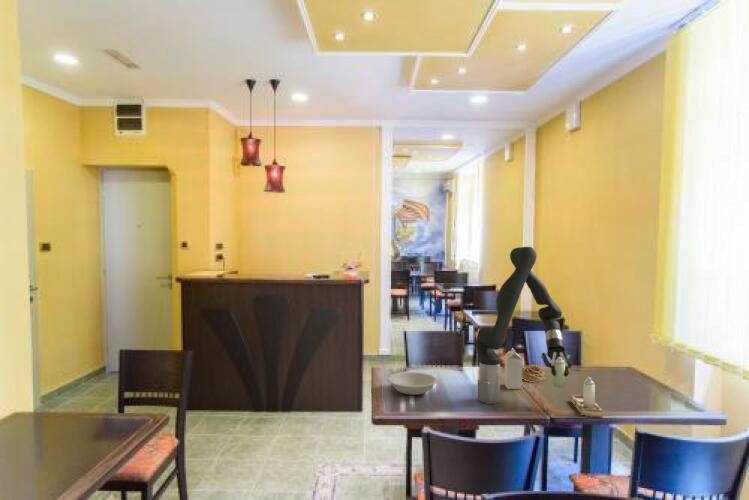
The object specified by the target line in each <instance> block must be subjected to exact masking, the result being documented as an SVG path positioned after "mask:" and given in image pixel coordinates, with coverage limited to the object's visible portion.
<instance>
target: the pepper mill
mask: <svg viewBox="0 0 749 500" xmlns="http://www.w3.org/2000/svg"><path fill="white" fill-rule="evenodd" d="M554 366H555V372H556V375H555V376H553V387H556V388H565V384H566V383H565V382H566V381H565V380H566V377H565V363H564V361H563V360H562V358H561V357H558V358H557V360H555V362H554Z"/></svg>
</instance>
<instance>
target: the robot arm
mask: <svg viewBox="0 0 749 500" xmlns="http://www.w3.org/2000/svg"><path fill="white" fill-rule="evenodd" d="M509 259H510V262H511V263H512V265H513V266H514V268H515V269H514V271H513V272H512V274H511V275H510V276H509V277H508V278H506V280H505V281H504V283H502V285H501V287H500V289H499V291H498V294H497V296H496V299H495V300H496V302H495V306H496V313H497V315H496V316H497V318H496V320H495V324H494V326H493V327H490V326H482V327H480V328H479V330H478V332H477V337H476V348H477V356H478V359H479V363H478V364H479V366H478V367H479V368H478V369H479V372H478V374H479V375H478V377H479V378H478V380H477V401H478V402H482V403H484V404H486V405H490V404H494V405H495V404H498V403H500V402H501V358H500V356H499V355H498V354H497V353H496V352H495V350H499V349H501V348H502V347H503V344H504V343H505V340H506V336H507V333H508V329H509V325H510V322H511V320H512V317H513V314H514V311H515V309H516V307H517V304H518V302H519V300H520V297H521V293H522V291H523V288H524V286H525V283H526V285H527V287H528V289H529V291H530V292H531V294H532V297H533V299H534V301H535V303H536V304H537V305H538V306H542V307H540V308H539V309H538V312H537V315H538V317H539V319H540V321H541V323H542V325H543V328H544V335H545V337H544V338H545V343H546V350H547V352H542V353H541V356H540V357H541V359H542V361H543V363H544V366H545V367H546V368H550V373H551V375H552V376H553V377H554V376H555V375H556V372H555V366H554V362H555V360H557V358H558V357H561V358H562V360H563V361H564V363H565V378H567V377H568V376H569V374H570V372H569V371H570V370H569V369H572V366H573V362H574V354H572V353H571V354H568V353H567V352H566V347H565V342H564V338H563V334H562V330H561V325H560V323H559V322H558V321H556V320H558V319H560V318H561V317H562V316H563V315H562V314H563V312H562V308H561V307H560V306H559V305H558V304H557V303H556V302H555V301H554V300H553V298H552V297H551V296H550V293H549V291H548V289H547V288H546V285H545V284H544V283H543V282H542V280H541V279H540V278H539V277H538V276H537V275H536V274H535V273H534V272H533V271H532V269H533V267H534V265H535V264H536V260H537V251H536V249H535V248H534V247H531V246H521V247H520V246H519V247H515V248H512V250H511V252H510V253H509ZM548 358H549V359H550V360H551V361H549V359H548ZM566 358H567V360H568V363H567V360H566Z"/></svg>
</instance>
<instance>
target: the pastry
mask: <svg viewBox="0 0 749 500" xmlns="http://www.w3.org/2000/svg"><path fill="white" fill-rule="evenodd" d="M522 378H524V379H526V380H529V381H535V382H542V381H543V380H544V379H545V380H546V373H545V371H544V370H543V369H542V368H541V367H540V366H539V365H536V364H531V365H527V366H525V367H524V368H523V367H522ZM545 380H544V381H545ZM544 381H543V382H544ZM543 382H542V383H543Z"/></svg>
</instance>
